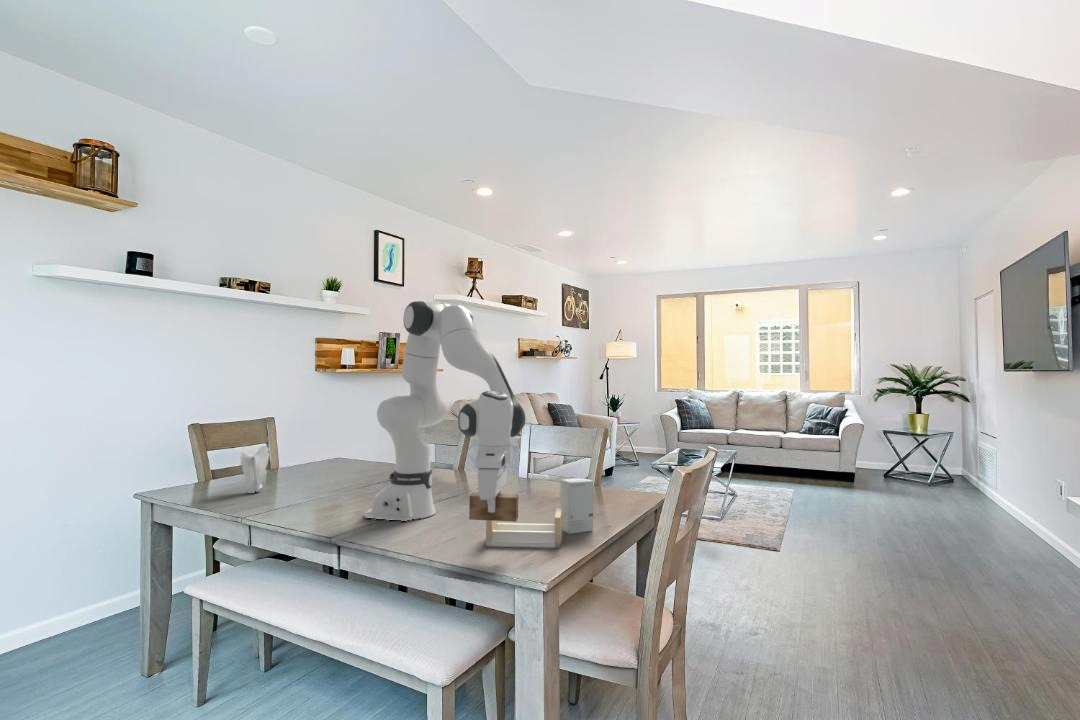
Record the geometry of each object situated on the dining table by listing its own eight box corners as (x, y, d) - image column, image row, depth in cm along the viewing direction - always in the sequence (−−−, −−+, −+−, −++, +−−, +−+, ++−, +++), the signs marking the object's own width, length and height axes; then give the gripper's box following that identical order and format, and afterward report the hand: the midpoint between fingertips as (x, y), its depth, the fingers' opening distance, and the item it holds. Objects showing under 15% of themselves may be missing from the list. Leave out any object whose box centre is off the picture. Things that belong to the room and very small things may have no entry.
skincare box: (569, 534, 156) (568, 482, 156) (559, 529, 162) (559, 478, 162) (594, 531, 160) (594, 480, 160) (584, 525, 165) (584, 476, 165)
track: (486, 546, 147) (486, 516, 147) (492, 534, 157) (492, 506, 157) (560, 547, 145) (560, 517, 145) (562, 536, 155) (562, 507, 155)
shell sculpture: (237, 495, 209) (237, 447, 209) (252, 490, 217) (251, 444, 217) (256, 495, 207) (256, 448, 208) (270, 490, 216) (270, 445, 216)
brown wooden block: (469, 519, 139) (469, 495, 139) (472, 515, 142) (472, 492, 142) (516, 521, 138) (516, 497, 138) (518, 517, 141) (518, 494, 141)
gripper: (490, 447, 151) (489, 498, 151) (473, 462, 130) (472, 520, 130) (512, 448, 150) (512, 499, 150) (499, 463, 130) (499, 521, 130)
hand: (493, 509), depth 140 cm, fingers closed on brown wooden block, 4 cm apart
